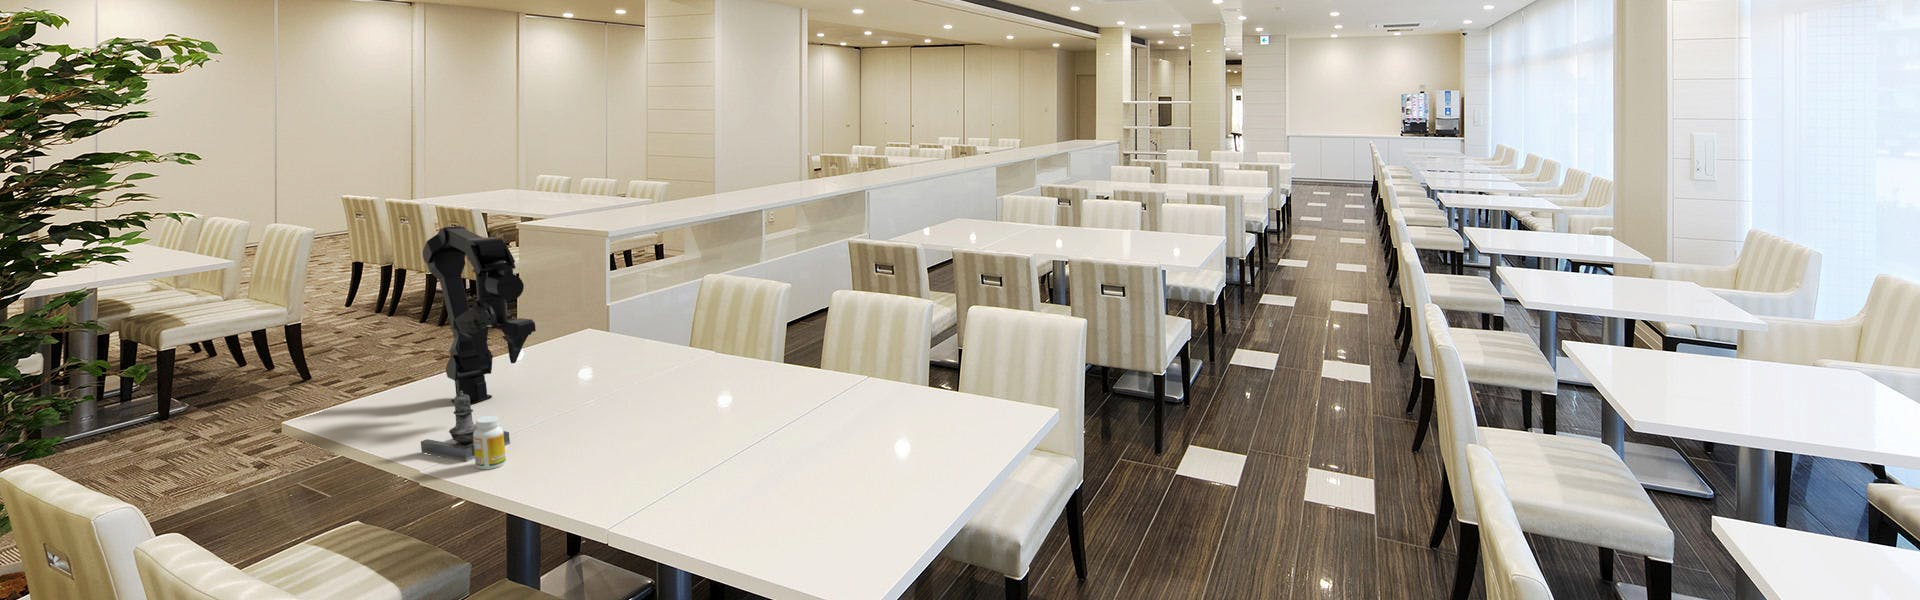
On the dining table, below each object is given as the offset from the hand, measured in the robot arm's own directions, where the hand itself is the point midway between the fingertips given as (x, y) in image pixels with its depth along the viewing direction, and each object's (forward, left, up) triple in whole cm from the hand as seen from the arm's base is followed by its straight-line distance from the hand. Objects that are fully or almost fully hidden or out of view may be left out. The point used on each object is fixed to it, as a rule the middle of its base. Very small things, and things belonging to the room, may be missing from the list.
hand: (497, 361), depth 208 cm
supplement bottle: (+22, -24, -13) cm, 35 cm away
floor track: (+10, -19, -13) cm, 25 cm away
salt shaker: (+10, -19, -13) cm, 25 cm away
